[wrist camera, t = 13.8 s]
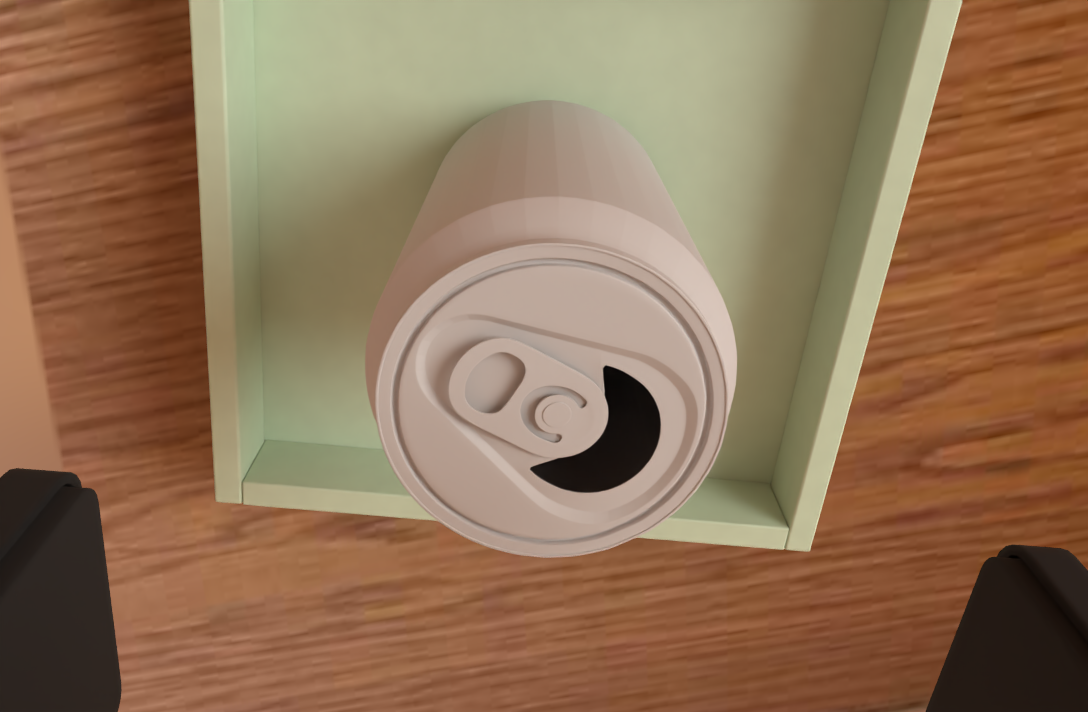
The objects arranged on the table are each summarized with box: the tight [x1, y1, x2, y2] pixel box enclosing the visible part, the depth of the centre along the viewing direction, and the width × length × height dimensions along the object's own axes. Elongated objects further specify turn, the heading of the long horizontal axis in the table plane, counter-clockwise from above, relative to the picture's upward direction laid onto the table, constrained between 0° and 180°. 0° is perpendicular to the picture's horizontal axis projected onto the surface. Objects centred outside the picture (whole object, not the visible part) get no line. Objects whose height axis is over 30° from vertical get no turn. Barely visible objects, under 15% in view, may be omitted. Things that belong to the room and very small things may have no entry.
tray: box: [189, 0, 962, 552], centre depth 24 cm, size 18×18×3 cm
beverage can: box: [365, 100, 737, 558], centre depth 20 cm, size 6×6×12 cm
